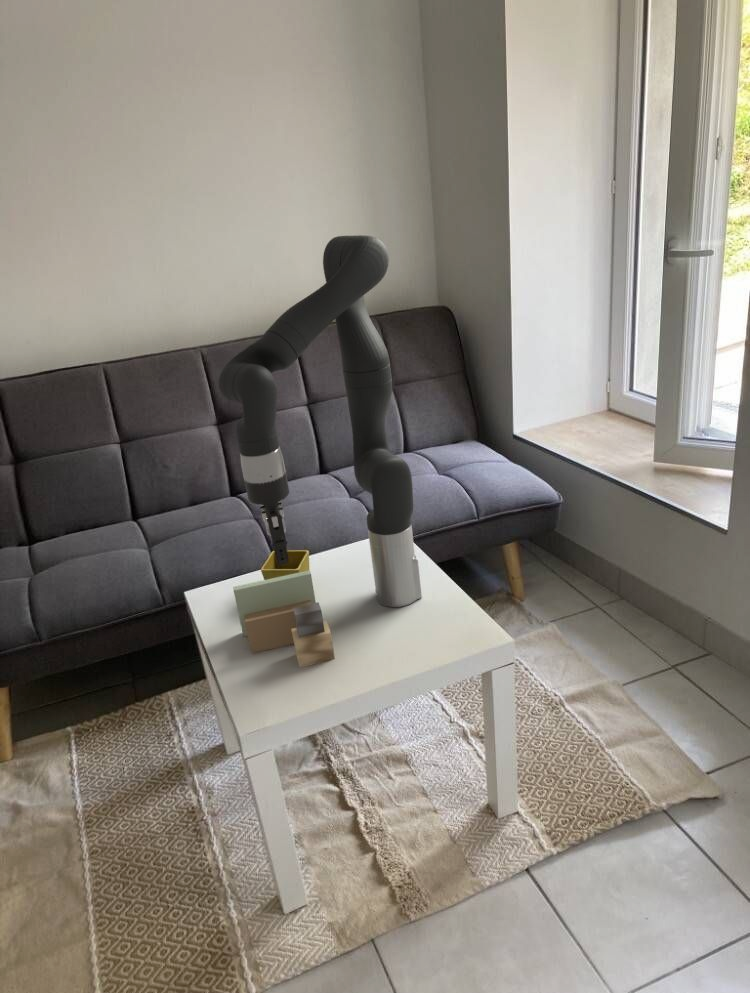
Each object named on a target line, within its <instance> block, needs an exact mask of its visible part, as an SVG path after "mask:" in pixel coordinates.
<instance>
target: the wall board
mask: <svg viewBox="0 0 750 993" xmlns="http://www.w3.org/2000/svg"><path fill="white" fill-rule="evenodd" d="M232 588H233V594H234V598H235V605H236V608H237V613H238V617H239V623H240V627H241V631H242V632H241V633H242V636H243V637H246V636H247V638H248V639H247V640H248V644H249V648H250V653H251V654H255V653H259V652H263V651H268V650H272V649H276V648H280V647H286V646H289V645H292V644H293V645H294V641H293V636H292V630H291V629H293V628H297V627H296V622H295V616H294V611H293V608H295V607H300V606H304V605H308V604H313V603H317V602H316V596H315V590H314V584H313V577H312V572H311V570H310V569H309V571H304V572H300V573H295V574H290V575H286V576H281V577H277V578H272V579H267V580H264V579H262V580H260V581H255V582H249V583H245V584H242V585H241V584H240V585H236V586H232Z"/></svg>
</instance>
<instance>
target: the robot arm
mask: <svg viewBox="0 0 750 993" xmlns="http://www.w3.org/2000/svg"><path fill="white" fill-rule="evenodd" d="M322 257H323V259H322V266H323V267H322V268H323V274H324V278H325V283H324V284H323V285H322V286H320V288H318V289H317V290H315V291H313V292H312V293H310V294H309V295H308V296H306V297H305V298H303V299H301V300H300V301H298V302H297V303H295V304H294V305H292V306H291V307H290V308H288V309H287V310H286V311H284V312H283V313H282V314H281V315H280V316H279V317H278V318H277V319H276V320H275V321H274V322H273V323H272V325H270V327H269V328H268V329H267V330H266V331H264V333H263V335H262V336H260V338H258V340H256V341H254V342H253V343H251V344H250V345H248V346H247V347H245V348H244V349H243V350H242V351H240V352H239V353H237V354H236V355H235V356H234V357H232V358H231V359H230V360H229V361H228V362H227V363H226V364H225V365H224V367H223V368H222V370H221V371H220V374H219V377H218V382H217V383H218V391H219V392H220V393H221V395H222V397H223V398H225V399H227V400H228V401H230V402H232V403H237V404H241V406H242V412H243V414H242V415H243V416H242V417H241V418H240V419H239V420H237V422H236V424H235V427H234V428H235V436H236V441H237V445H238V450H239V455H240V466H241V471H242V477H243V480H244V484H245V485H244V486H245V490H246V494H247V500H248V501H249V502H250V503H252V504H253V505H259V508H260V512H261V513H260V514H261V517H262V518H261V519H262V520H263V522H264V525H265V529H266V534H267V535H268V536H270V540H271V547H272V549H273V551H274V552H275V557H276V562H277V564H278V565H281V564H285V563H288V562H289V559H288V554H287V551H288V550H287V546H288V541H287V539H286V534H285V533H286V531H287V528H286V523H285V519H284V518H285V511H284V507H283V504H282V501H284V500H285V499H286V498H287V497H288V496H289V494H290V488H289V483H288V482H289V480H288V478H287V477H288V476H287V471H286V465H285V462H284V456H283V452H282V450H281V446H280V441H279V437H278V430H277V427H276V420H277V407H278V402H277V401H278V388H277V384H276V381H275V378H274V376H273V374H272V373H274V372H277V371H279V372H280V371H284V370H287V369H288V368H290V367H291V366H292V365H293V364H294V363H295V362H296V361H297V360H298V358H300V357H301V355H302V354H303V353H304V352H305V351H306V349H308V347H309V346H310V345H311V344H312V342H313V341H314V340H315V339H316V338H317V337H319V335H320V334H321V333H322V332H323V331H324V330H325V329H327V327H328V326H329V325H331V323H332V322H335V325H336V326H335V327H336V332H337V338H338V339H337V340H338V345H339V349H340V350H339V351H340V358H341V366H342V373H343V380H344V386H345V387H344V388H345V392H346V393H345V394H346V397H347V405H348V412H349V418H350V425H351V432H352V448H353V449H352V450H353V451H352V452H353V470H354V477H355V480H356V482H357V484H358V485H359V487H360V488H361V489H363V490H364V491H365V492H367V493H369V494H371V496H372V508H373V509H371V510H370V511H369V512H368V514H367V516H366V526H367V532H368V540H369V549H370V555H371V556H370V557H371V564H372V572H373V579H374V586H375V595H376V600H377V602H378V603H379V604H381V605H382V606H385V607H390V608H400V607H405V606H408V605H410V604H413V603H414V602H415V601H417V600H419V599H422V598H423V596H422V595H423V594H422V586H421V578H420V576H421V575H420V568H419V567H420V566H419V560H418V557H417V556H416V554H415V546H414V536H413V534H414V533H413V527H412V515H413V512H414V492H413V489H414V488H413V477H412V472H411V469H410V466H409V464H408V463H407V462H406V460H404V459H403V458H401V457H399V456H397V455H395V454H393V453H391V452H390V449H389V446H388V445H389V444H388V440H387V435H386V434H387V432H386V415H387V411H388V408H389V407H390V402H391V398H392V393H393V378H392V370H391V361H390V357H389V353H388V349H387V347H386V345H385V342H384V340H383V339H382V337H381V335H380V333H379V332H378V330H377V328H376V327H375V324H374V322H373V321H372V319H371V317H370V315H369V313H368V309H367V305H366V302H365V295H366V294H367V293H368V292H369V291H371V290H372V289H374V288H375V287H376V286H377V285H378V284H379V283H380V282H381V281H382V280H383V279H384V277H385V275H386V273H387V271H388V267H389V260H390V259H389V252H388V249H387V247H386V245H385V244H384V242H382V240H380V239H379V238H377V237H374V236H372V235H360V234H359V235H338V236H336V237H332V238H331V239H330V240H329V241H328V242H327V243H326V245H325V248H324V250H323V256H322Z"/></svg>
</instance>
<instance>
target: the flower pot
mask: <svg viewBox="0 0 750 993" xmlns="http://www.w3.org/2000/svg"><path fill="white" fill-rule="evenodd" d="M309 551H310V550H306V549H303V550H302V549H301V550H287V554H288V559H289V562H288V563H285V564H281V565H278V564H277V562H276V557H275V552H274V550H273V551H271V553H270V555H269V556H268V558H267V559H266V561H265V562H264V564H263V565H262V567H261V568H260V572H261V575H262V578H263V580H267V579H272V578H277V577H281V576H286V575H290V574H295V573H300V572H304V571H309V570H310V552H309Z"/></svg>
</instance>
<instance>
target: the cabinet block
mask: <svg viewBox="0 0 750 993" xmlns="http://www.w3.org/2000/svg"><path fill="white" fill-rule="evenodd" d="M293 611H294V616H295V622H296V627H297V628H293V629H291V630H292V636H293V641H294V644H293V645H294V652H295V656H296V660H297V664H298V667H299V668H303V667H307V666H311V665H316V664H320V663H323V662H328V661H332V660H335V659H336V657H335V656H336V655H335V651H334V646H333V644H334V643H333V639H332V632H331V630H330V627H329V625H328V621H327V620H324V619H323V613H322V607H321V605H320V603H319V601H318V602H316V603H313V604H308V605H304V606H300V607H295V608H293Z"/></svg>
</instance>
